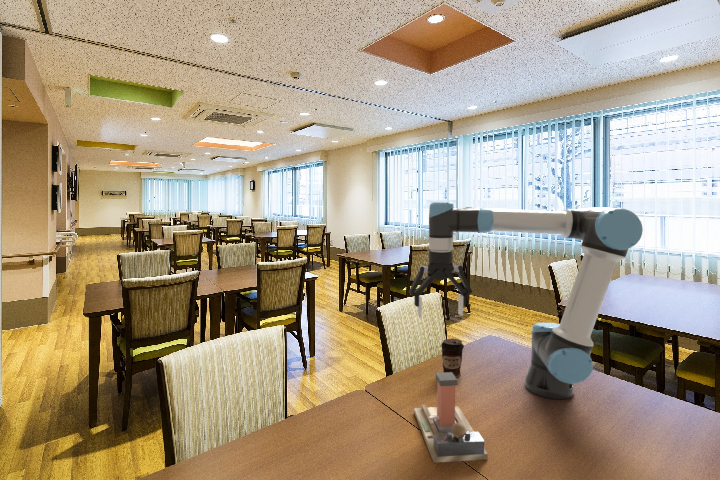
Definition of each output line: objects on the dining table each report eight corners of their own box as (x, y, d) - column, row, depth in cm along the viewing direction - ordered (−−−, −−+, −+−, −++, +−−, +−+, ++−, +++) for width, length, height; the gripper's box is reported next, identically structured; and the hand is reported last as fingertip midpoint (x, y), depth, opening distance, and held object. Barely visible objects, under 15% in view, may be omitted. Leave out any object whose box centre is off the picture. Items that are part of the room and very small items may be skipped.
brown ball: (463, 432, 99) (463, 419, 99) (467, 441, 96) (467, 427, 96) (449, 433, 99) (449, 420, 99) (453, 441, 96) (453, 428, 95)
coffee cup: (464, 380, 139) (464, 346, 138) (441, 378, 141) (441, 344, 140) (462, 370, 148) (463, 337, 147) (440, 368, 150) (441, 336, 148)
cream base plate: (458, 410, 119) (458, 402, 119) (487, 459, 96) (487, 449, 96) (414, 412, 118) (414, 404, 118) (433, 462, 96) (433, 452, 95)
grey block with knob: (478, 444, 100) (478, 427, 100) (483, 454, 96) (484, 436, 96) (433, 446, 99) (433, 429, 99) (437, 456, 95) (437, 439, 95)
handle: (452, 417, 112) (452, 370, 111) (460, 431, 105) (460, 381, 104) (426, 419, 112) (426, 371, 110) (432, 433, 105) (432, 382, 104)
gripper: (474, 248, 126) (473, 310, 128) (400, 249, 124) (400, 313, 126) (483, 251, 118) (482, 317, 120) (404, 252, 117) (404, 320, 119)
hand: (440, 315), depth 123 cm, fingers open, 13 cm apart
